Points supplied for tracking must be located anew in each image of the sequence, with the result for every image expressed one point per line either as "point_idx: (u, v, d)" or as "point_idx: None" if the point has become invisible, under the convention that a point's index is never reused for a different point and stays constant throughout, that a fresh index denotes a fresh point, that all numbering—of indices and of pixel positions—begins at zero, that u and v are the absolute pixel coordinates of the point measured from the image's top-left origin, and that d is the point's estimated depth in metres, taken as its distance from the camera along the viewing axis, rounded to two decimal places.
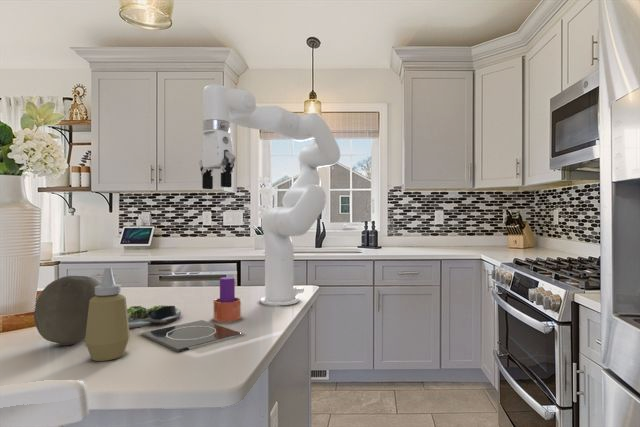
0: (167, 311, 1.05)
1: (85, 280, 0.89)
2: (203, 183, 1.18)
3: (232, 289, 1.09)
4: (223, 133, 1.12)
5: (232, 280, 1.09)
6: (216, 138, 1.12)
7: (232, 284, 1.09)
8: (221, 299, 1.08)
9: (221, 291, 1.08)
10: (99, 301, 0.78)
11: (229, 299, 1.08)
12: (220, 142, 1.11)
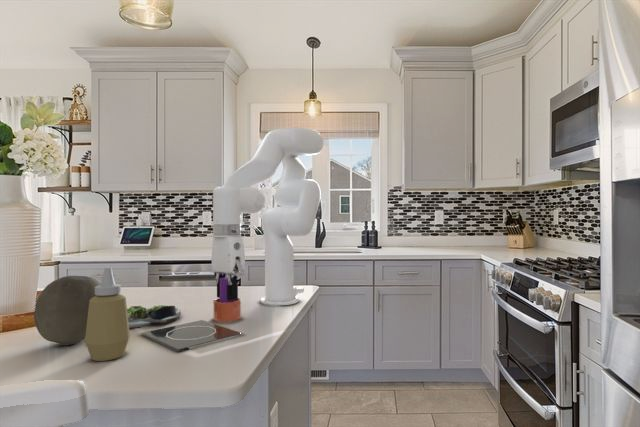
0: (167, 311, 1.05)
1: (85, 280, 0.89)
2: (218, 292, 1.10)
3: None
4: (234, 239, 1.06)
5: None
6: (227, 245, 1.06)
7: None
8: (221, 299, 1.08)
9: (221, 291, 1.08)
10: (99, 301, 0.78)
11: None
12: (231, 249, 1.05)
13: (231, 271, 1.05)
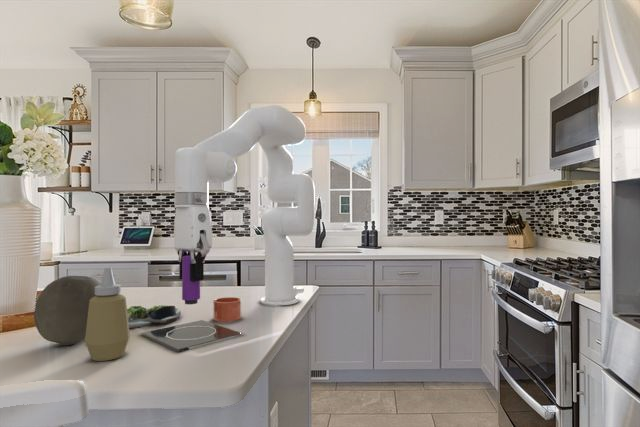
0: (167, 311, 1.05)
1: (85, 280, 0.89)
2: (180, 272, 0.93)
3: None
4: (199, 209, 0.90)
5: None
6: (190, 216, 0.89)
7: None
8: (183, 280, 0.91)
9: (183, 271, 0.91)
10: (99, 301, 0.78)
11: None
12: (195, 221, 0.89)
13: (194, 247, 0.89)
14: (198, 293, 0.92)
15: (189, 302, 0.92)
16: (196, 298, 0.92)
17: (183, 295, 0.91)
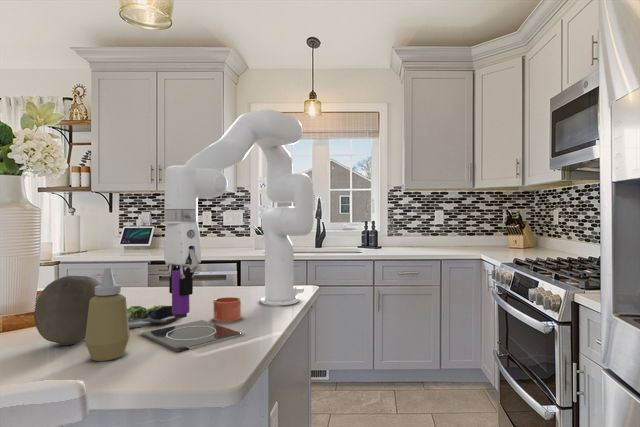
0: (167, 311, 1.05)
1: (85, 280, 0.89)
2: (170, 287, 0.96)
3: None
4: (188, 225, 0.92)
5: None
6: (179, 233, 0.92)
7: None
8: (173, 295, 0.94)
9: (173, 286, 0.94)
10: (99, 301, 0.78)
11: None
12: (184, 237, 0.91)
13: (183, 262, 0.91)
14: (187, 307, 0.95)
15: (178, 316, 0.94)
16: (185, 312, 0.94)
17: (173, 309, 0.94)
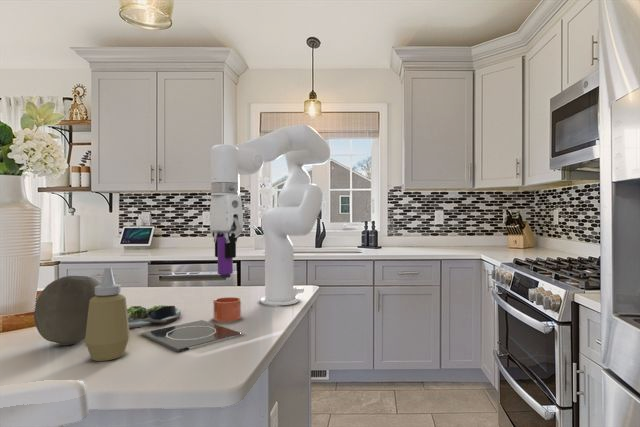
0: (167, 311, 1.05)
1: (85, 280, 0.89)
2: (216, 251, 1.09)
3: None
4: (232, 196, 1.06)
5: None
6: (225, 202, 1.05)
7: None
8: (219, 257, 1.07)
9: (219, 249, 1.07)
10: (99, 301, 0.78)
11: (227, 258, 1.07)
12: (229, 207, 1.05)
13: (229, 228, 1.05)
14: (231, 268, 1.08)
15: (224, 276, 1.08)
16: (230, 272, 1.08)
17: (219, 270, 1.08)
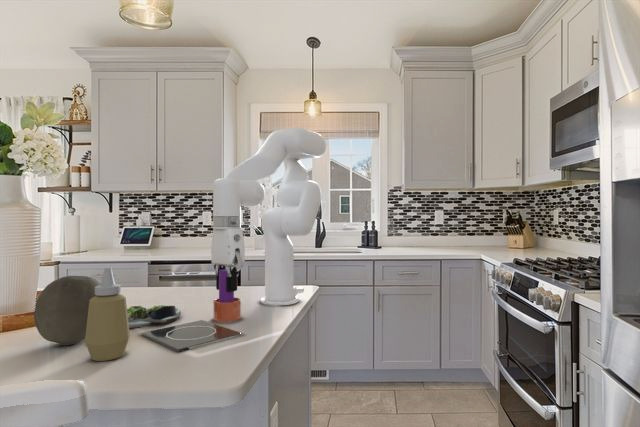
0: (167, 311, 1.05)
1: (85, 280, 0.89)
2: (217, 284, 1.10)
3: None
4: (234, 231, 1.06)
5: None
6: (227, 237, 1.06)
7: None
8: (220, 291, 1.08)
9: (220, 283, 1.08)
10: (99, 301, 0.78)
11: None
12: (231, 241, 1.05)
13: (231, 263, 1.05)
14: (232, 301, 1.09)
15: None
16: None
17: None
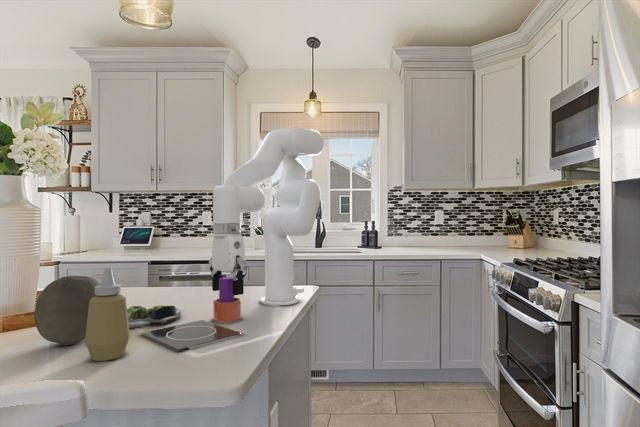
0: (167, 311, 1.05)
1: (85, 280, 0.89)
2: (213, 285, 1.12)
3: (231, 289, 1.08)
4: (234, 238, 1.06)
5: (231, 280, 1.08)
6: (227, 244, 1.06)
7: (231, 284, 1.08)
8: (220, 299, 1.08)
9: (220, 291, 1.08)
10: (99, 301, 0.78)
11: (228, 299, 1.08)
12: (231, 248, 1.05)
13: (231, 270, 1.05)
14: None
15: None
16: None
17: None
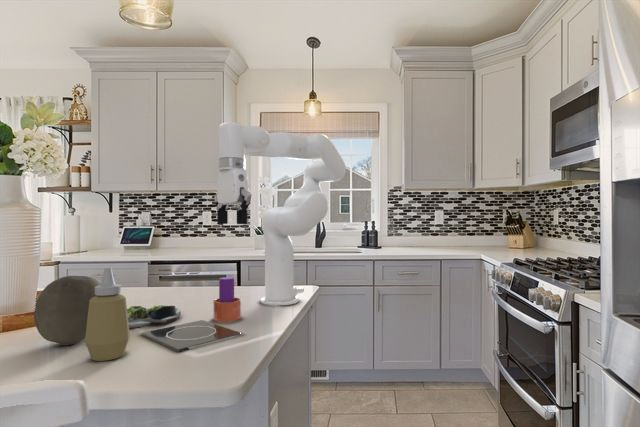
0: (167, 311, 1.05)
1: (85, 280, 0.89)
2: (218, 218, 1.19)
3: (231, 289, 1.08)
4: (239, 171, 1.14)
5: (231, 280, 1.08)
6: (232, 176, 1.13)
7: (231, 284, 1.08)
8: (220, 299, 1.08)
9: (220, 291, 1.08)
10: (99, 301, 0.78)
11: (228, 299, 1.08)
12: (236, 180, 1.13)
13: (236, 200, 1.13)
14: None
15: None
16: None
17: None
